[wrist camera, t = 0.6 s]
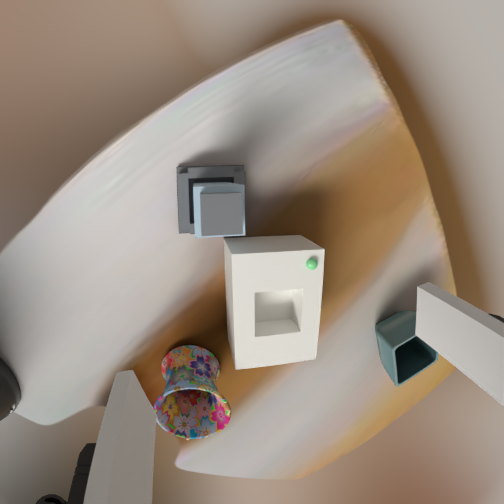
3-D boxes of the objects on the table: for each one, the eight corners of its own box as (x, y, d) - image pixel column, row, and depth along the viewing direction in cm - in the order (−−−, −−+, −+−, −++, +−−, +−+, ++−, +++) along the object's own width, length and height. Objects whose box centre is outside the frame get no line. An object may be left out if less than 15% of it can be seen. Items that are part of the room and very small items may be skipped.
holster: (179, 232, 37) (178, 236, 34) (176, 167, 35) (175, 166, 32) (243, 229, 38) (246, 233, 36) (242, 165, 36) (246, 164, 34)
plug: (194, 216, 36) (195, 243, 22) (193, 183, 35) (193, 187, 21) (227, 214, 37) (249, 240, 23) (227, 181, 36) (249, 186, 22)
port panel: (227, 336, 42) (236, 371, 34) (223, 238, 38) (232, 255, 30) (297, 329, 43) (318, 360, 35) (301, 234, 40) (327, 249, 32)
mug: (160, 335, 40) (153, 382, 30) (226, 342, 42) (236, 389, 32) (157, 398, 42) (153, 447, 32) (215, 403, 44) (223, 452, 34)
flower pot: (370, 359, 48) (396, 388, 40) (362, 321, 46) (392, 349, 37) (409, 336, 49) (438, 360, 40) (404, 297, 46) (438, 319, 38)
